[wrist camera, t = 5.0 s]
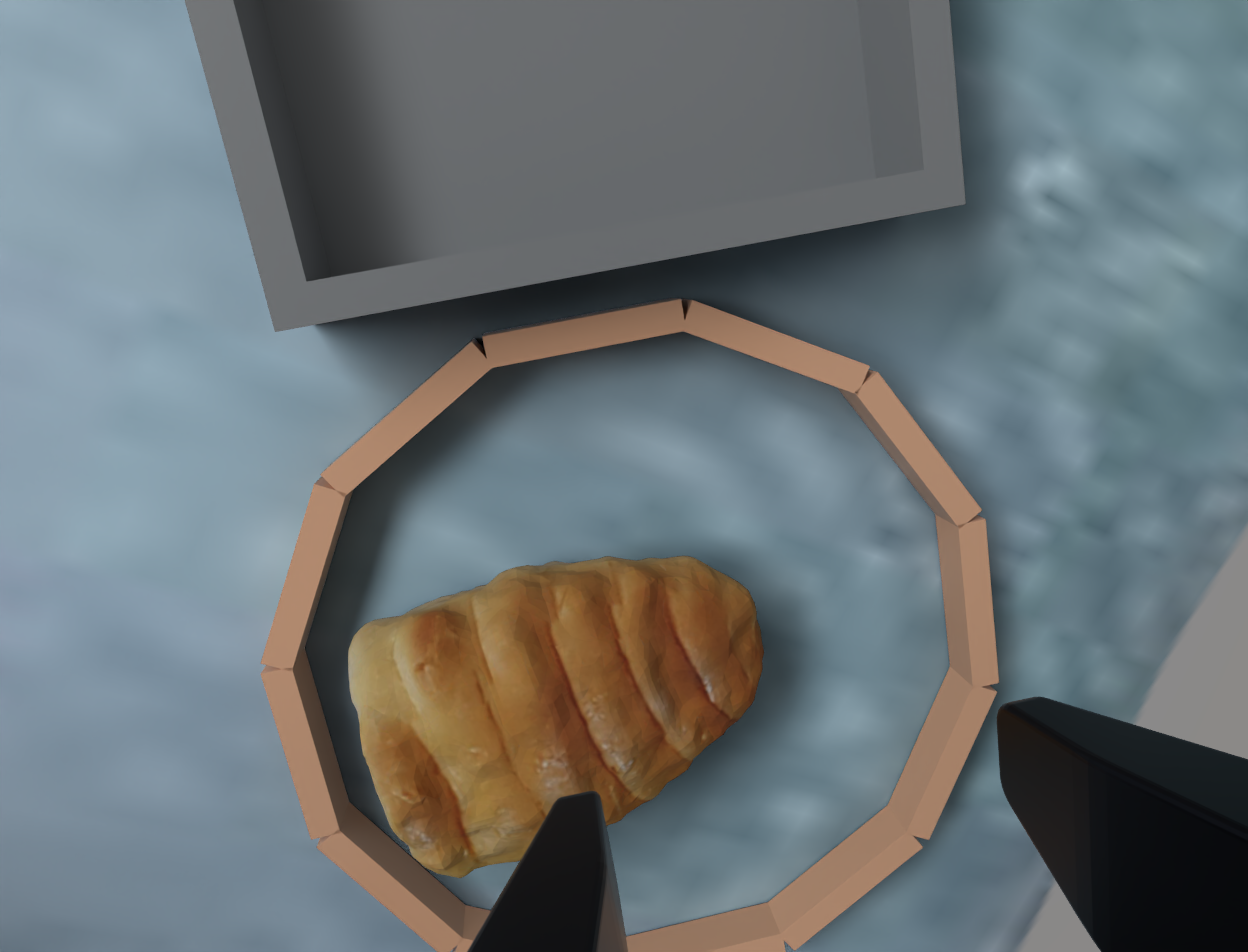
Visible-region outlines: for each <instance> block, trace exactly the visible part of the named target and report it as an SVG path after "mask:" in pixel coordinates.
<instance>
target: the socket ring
mask: <svg viewBox="0 0 1248 952" xmlns="http://www.w3.org/2000/svg"><path fill="white" fill-rule="evenodd" d="M682 331H683V332H686V333H689V334H691V335H694V336H697V337H700V338H702V339H705V340H708V341H711V342H713V343H716V344H719V345H722V346H724V347H727V348H730V349H733V350H735V351H738V352H741V353H744V354H746V355H749V356H752V357H755V358H757V359H760V360H763V361H766V362H768V363H771V364H774V365H777V366H779V367H782V368H785V369H787V370H790V371H793V372H796V373H798V374H801V375H804V376H807V377H809V378H812V379H815V380H818V381H820V382H823V383H826V384H829V385H831V386H834V387H837V388H838V389H839V390H840V392H841V393H842V394H843V396H844V397H845V398H846V399H847V401H848V402H849V403H850V405H851V406H852V407H853V409H854V410H855V411H856V412H857V414H858V415H859V416H860V418H861V419H862V420H863V421H864V423H865V424H866V425H867V427H868V428H869V429H870V431H871V432H872V433H873V434H874V436H875V437H876V438H877V440H878V441H879V442H880V443H881V445H882V446H883V447H884V449H885V450H886V451H887V453H888V454H889V455H890V456H891V458H892V459H893V460H894V462H895V463H896V464H897V465H898V467H899V468H900V469H901V471H902V472H903V473H904V474H905V476H906V477H907V478H908V480H909V481H910V482H911V484H912V485H913V486H914V487H915V489H916V490H917V491H918V493H919V494H920V495H921V496H922V498H923V499H924V500H925V502H926V503H927V504H928V506H929V507H930V508H931V509H932V511H933V512H934V513H935V516H936V526H937V537H938V547H939V557H940V568H941V578H942V588H943V599H944V609H945V619H946V630H947V640H948V650H949V661H950V667H949V670H948V672H947V674H946V676H945V679H944V681H943V683H942V685H941V687H940V690H939V692H938V694H937V696H936V699H935V701H934V703H933V705H932V708H931V710H930V712H929V714H928V716H927V719H926V721H925V723H924V725H923V728H922V730H921V732H920V734H919V736H918V739H917V741H916V743H915V745H914V748H913V750H912V752H911V754H910V757H909V759H908V761H907V763H906V765H905V768H904V770H903V772H902V774H901V777H900V779H899V781H898V783H897V785H896V788H895V790H894V792H893V794H892V797H891V799H890V801H889V803H888V805H887V806H886V807H885V808H884V809H882V810H881V811H880V812H879V813H877V814H876V815H875V816H874V817H872V818H871V819H870V820H869V821H868V822H866V823H865V824H864V825H863V826H861V827H860V828H859V829H858V830H856V831H855V832H854V833H853V834H851V835H850V836H849V837H848V838H847V839H845V840H844V841H843V842H842V843H840V844H839V845H838V846H837V847H835V848H834V849H833V850H832V851H831V852H829V853H828V854H827V855H826V856H824V857H823V858H822V859H821V860H819V861H818V862H817V863H816V864H814V865H813V866H812V867H811V868H810V869H808V870H807V871H806V872H805V873H803V874H802V875H801V876H800V877H798V878H797V879H796V880H795V881H794V882H792V883H791V884H790V885H789V886H787V887H786V888H785V889H784V890H782V891H781V892H780V893H779V894H777V895H776V896H775V897H774V898H773V899H771V900H770V901H769V902H767V903H763V904H759V905H755V906H751V907H746V908H742V909H738V910H734V911H730V912H726V913H722V914H718V915H713V916H709V917H705V918H701V919H697V920H693V921H689V922H685V923H680V924H676V925H672V926H668V927H664V928H660V929H656V930H652V931H647V932H643V933H639V934H635V935H631V936H627V937H626V941H627V947H628V952H785V945H784V941H785V942H786V943H787V944H788V945H789V946H790V947H791V948H792V949H793V950H794V951H795V950H796V949H797V948H799V947H800V946H801V945H802V944H804V943H805V942H806V941H807V940H809V939H810V938H811V937H812V936H814V935H815V934H816V933H817V932H819V931H820V930H821V929H822V928H824V927H825V926H826V925H827V924H828V923H830V922H831V921H832V920H833V919H835V918H836V917H837V916H838V915H840V914H841V913H842V912H843V911H845V910H846V909H847V908H848V907H850V906H851V905H852V904H853V903H855V902H856V901H857V900H858V899H860V898H861V897H862V896H863V895H865V894H866V893H867V892H868V891H869V890H871V889H872V888H873V887H874V886H876V885H877V884H878V883H879V882H881V881H882V880H883V879H884V878H886V877H887V876H888V875H889V874H891V873H892V872H893V871H894V870H896V869H897V868H898V867H899V866H901V865H902V864H903V863H904V862H905V861H907V860H908V859H909V858H910V857H912V856H913V855H914V854H915V853H917V852H918V851H919V850H920V849H922V848H923V846H922V845H921V844H920V842H919V841H918V839H917V838H916V837H919V838H923V839H927V840H929V839H930V837H931V834H932V832H933V830H934V828H935V826H936V824H937V821H938V819H939V817H940V815H941V813H942V811H943V808H944V806H945V804H946V802H947V800H948V798H949V795H950V793H951V791H952V789H953V787H954V785H955V782H956V780H957V778H958V776H959V774H960V772H961V769H962V767H963V765H964V763H965V761H966V759H967V756H968V754H969V752H970V750H971V748H972V746H973V743H974V741H975V739H976V737H977V735H978V733H979V730H980V728H981V726H982V724H983V722H984V720H985V717H986V715H987V713H988V711H989V709H990V707H991V704H992V702H993V700H994V698H995V696H996V694H997V691H996V690H994V689H993V688H992V687H991V686H990V685H991V684H996V683H999V676H998V664H997V652H996V640H995V628H994V616H993V603H992V591H991V579H990V567H989V555H988V543H987V531H986V519H984V518H982V517H980V516H978V515H977V514H978V513H979V512H981V511H982V509H981V508H980V507H979V505H978V504H977V503H976V501H975V500H974V499H973V497H972V496H971V495H970V493H969V492H968V491H967V489H966V488H965V487H964V485H963V484H962V483H961V482H960V480H959V479H958V478H957V476H956V475H955V474H954V472H953V471H952V470H951V468H950V467H949V466H948V464H947V463H946V462H945V460H944V459H943V458H942V456H941V455H940V454H939V452H938V451H937V450H936V448H935V447H934V446H933V444H932V443H931V442H930V440H929V439H928V438H927V436H926V435H925V434H924V432H923V431H922V430H921V428H920V427H919V426H918V424H917V423H916V422H915V421H914V419H913V418H912V417H911V415H910V414H909V413H908V411H907V410H906V409H905V407H904V406H903V405H902V403H901V402H900V401H899V399H898V398H897V397H896V395H895V394H894V393H893V391H892V390H891V389H890V387H889V386H888V385H887V383H886V382H885V381H884V379H883V378H882V377H881V375H880V374H879V373H878V372H876V371H872V370H868V369H869V367H870V366H869V365H866V364H863V363H860V362H858V361H855V360H852V359H850V358H847V357H844V356H842V355H839V354H836V353H834V352H831V351H828V350H826V349H823V348H820V347H817V346H815V345H812V344H809V343H807V342H804V341H801V340H799V339H796V338H793V337H791V336H788V335H785V334H783V333H780V332H777V331H774V330H772V329H769V328H766V327H764V326H761V325H758V324H756V323H753V322H750V321H748V320H745V319H742V318H740V317H737V316H734V315H732V314H729V313H726V312H723V311H721V310H718V309H715V308H713V307H710V306H707V305H705V304H702V303H699V302H697V301H694V300H689V299H682V301H681V299H678V298H668V299H662V300H657V301H652V302H646V303H641V304H636V305H631V306H625V307H620V308H615V309H609V310H604V311H599V312H593V313H588V314H583V315H577V316H572V317H567V318H562V319H556V320H551V321H546V322H540V323H535V324H530V325H524V326H519V327H514V328H508V329H503V330H498V331H493V332H487V333H484V334H483V336H482V338H483V343H484V347H485V349H484V348H483V347H482V346H481V345H480V344H479V343H478V342H477V340H476V339H475V338H474V339H473V340H471V341H470V342H469V343H468V344H467V345H466V346H465V347H463V348H462V349H461V350H460V351H459V352H458V353H457V354H455V355H454V356H453V357H452V358H451V359H450V360H449V361H447V362H446V363H445V364H444V365H443V366H442V367H441V368H440V369H438V370H437V371H436V372H435V373H434V374H433V375H432V376H430V377H429V378H428V379H427V380H426V381H425V382H424V383H422V384H421V385H420V386H419V387H418V388H417V389H416V390H414V391H413V392H412V393H411V394H410V395H409V396H408V397H407V398H405V399H404V400H403V401H402V402H401V403H400V404H399V405H397V406H396V407H395V408H394V409H393V410H392V411H391V412H389V413H388V414H387V415H386V416H385V417H384V418H383V419H381V420H380V421H379V422H378V423H377V424H376V425H375V426H374V427H372V428H371V429H370V430H369V431H368V432H367V433H366V434H364V435H363V436H362V437H361V438H360V439H359V440H358V441H356V442H355V443H354V444H353V445H352V446H351V447H350V448H348V449H347V450H346V451H345V452H344V453H343V454H342V455H341V456H339V457H338V458H337V459H336V460H335V461H334V462H333V463H331V464H330V465H329V466H328V467H327V468H326V469H325V470H324V471H323V472H322V473H321V474H320V475H321V476H322V477H321V478H320V479H319V480H318V481H317V482H316V483H315V484H314V487H313V490H312V493H311V497H310V500H309V503H308V507H307V510H306V513H305V517H304V520H303V523H302V527H301V530H300V533H299V537H298V540H297V543H296V547H295V550H294V553H293V557H292V560H291V564H290V567H289V570H288V574H287V577H286V580H285V584H284V587H283V590H282V594H281V597H280V600H279V604H278V607H277V610H276V614H275V617H274V620H273V624H272V627H271V630H270V634H269V637H268V640H267V644H266V647H265V651H264V654H263V657H262V661H261V664H265V665H266V666H265V668H264V669H263V671H262V672H261V677H262V680H263V683H264V687H265V690H266V693H267V696H268V700H269V703H270V706H271V710H272V713H273V716H274V719H275V723H276V726H277V729H278V732H279V736H280V739H281V742H282V746H283V749H284V752H285V755H286V759H287V762H288V765H289V769H290V772H291V775H292V778H293V782H294V785H295V788H296V792H297V795H298V798H299V801H300V805H301V808H302V811H303V814H304V818H305V821H306V824H307V828H308V831H309V834H310V837H311V840H312V839H316V838H320V840H319V842H318V845H317V848H318V849H319V850H320V851H321V852H322V853H323V854H325V855H326V856H327V857H328V858H329V859H330V860H332V861H333V862H334V863H335V864H336V865H337V866H338V867H340V868H341V869H342V870H343V871H344V872H345V873H347V874H348V875H349V876H350V877H351V878H352V879H354V880H355V881H356V882H357V883H358V884H359V885H361V886H362V887H363V888H364V889H365V890H366V891H368V892H369V893H370V894H371V895H372V896H373V897H375V898H376V899H377V900H378V901H379V902H380V903H381V904H383V905H384V906H385V907H386V908H387V909H388V910H390V911H391V912H392V913H393V914H394V915H395V916H397V917H398V918H399V919H400V920H401V921H402V922H404V923H405V924H406V925H407V926H408V927H409V928H411V929H412V930H413V931H414V932H415V933H416V934H418V935H419V936H420V937H421V938H422V939H423V940H424V941H426V942H427V943H428V944H429V945H430V946H431V947H433V948H434V949H435V950H436V951H437V952H450V951H451V950H452V949H453V952H467V951H468V949H469V947H470V946H471V944H472V942H473V941H474V939H475V937H476V935H477V934H478V932H479V930H480V929H481V927H482V925H483V923H484V922H485V920H486V918H487V917H488V915H489V913H490V910H485V909H481V908H476V907H472V906H467V905H465V904H464V903H462V902H461V901H460V900H459V899H458V898H457V897H456V896H455V895H453V894H452V893H451V892H450V891H449V890H448V889H447V888H446V887H444V886H443V885H442V884H441V883H440V882H439V881H438V880H437V879H436V878H434V877H433V876H432V875H431V874H430V873H429V872H428V871H427V870H425V869H424V868H423V867H422V866H421V865H420V864H419V863H418V862H416V861H415V860H414V859H413V858H412V857H411V856H410V855H409V854H407V853H406V852H405V851H404V850H403V849H402V848H401V847H400V846H398V845H397V844H396V843H395V842H394V841H393V840H392V839H391V838H389V837H388V836H387V835H386V834H385V833H384V832H383V831H382V830H380V829H379V828H378V827H377V826H376V825H375V824H374V823H373V822H371V821H370V820H369V819H368V818H367V817H366V816H365V815H364V814H362V813H361V812H360V811H359V810H358V809H357V808H356V807H355V806H353V805H352V804H351V803H350V802H349V799H348V796H347V792H346V789H345V786H344V782H343V779H342V775H341V772H340V768H339V765H338V761H337V758H336V754H335V751H334V748H333V744H332V741H331V737H330V734H329V730H328V727H327V723H326V720H325V716H324V713H323V709H322V706H321V703H320V699H319V696H318V692H317V689H316V685H315V682H314V678H313V675H312V671H311V668H310V665H309V661H308V658H307V654H306V651H305V645H306V642H307V639H308V636H309V632H310V629H311V626H312V623H313V619H314V616H315V613H316V610H317V606H318V603H319V600H320V597H321V593H322V590H323V587H324V584H325V580H326V577H327V574H328V571H329V567H330V564H331V561H332V558H333V554H334V551H335V548H336V545H337V541H338V538H339V535H340V532H341V528H342V525H343V522H344V518H345V515H346V512H347V509H348V505H349V502H350V499H351V496H352V492H353V489H354V488H355V487H356V486H357V485H359V484H360V483H361V482H362V481H363V480H364V479H365V478H367V477H368V476H369V475H370V474H371V473H372V472H373V471H375V470H376V469H377V468H378V467H379V466H380V465H381V464H383V463H384V462H385V461H386V460H387V459H388V458H389V457H391V456H392V455H393V454H394V453H395V452H396V451H397V450H399V449H400V448H401V447H402V446H403V445H404V444H405V443H407V442H408V441H409V440H410V439H411V438H412V437H413V436H415V435H416V434H417V433H418V432H419V431H420V430H421V429H423V428H424V427H425V426H426V425H427V424H428V423H429V422H431V421H432V420H433V419H434V418H435V417H436V416H437V415H439V414H440V413H441V412H442V411H443V410H444V409H445V408H447V407H448V406H449V405H450V404H451V403H452V402H453V401H455V400H456V399H457V398H458V397H459V396H460V395H461V394H463V393H464V392H465V391H466V390H467V389H468V388H469V387H471V386H472V385H473V384H474V383H475V382H476V381H477V380H479V379H480V378H481V377H482V376H483V375H484V374H485V373H487V372H488V371H489V370H490V369H491V368H494V367H500V366H505V365H510V364H515V363H521V362H526V361H531V360H536V359H541V358H547V357H552V356H557V355H562V354H568V353H573V352H578V351H583V350H588V349H594V348H599V347H604V346H609V345H615V344H620V343H625V342H630V341H635V340H641V339H646V338H651V337H656V336H662V335H667V334H672V333H677V332H682ZM915 836H916V837H915Z"/></svg>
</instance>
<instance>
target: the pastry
mask: <svg viewBox="0 0 1248 952" xmlns="http://www.w3.org/2000/svg"><path fill="white" fill-rule="evenodd" d="M756 615H757V611H756V607H755V604H754V601H753V599H752V597H751V595H750V593H749V591H748V590H747V589H746V588H745V587H744V586H743V585H742V584H740V583H739V582H737V581H736V580H734V579H732V578H730V577H728V576H726V575H724V574H723V573H721V572H719V571H717V570H715V569H713V568H711V567H710V566H708V565H706V564H705V563H703V562H701V561H699V560H697V559H695V558H693V557H689V556H677V557H671V558H664V559H659V558H646V559H642V560H636V561H635V560H627V559H621V558H616V557H610V556H607V557H602V558H599V559H594V560H588V561H582V562H577V563H563V562H558V561H553V562H549V563H546V564H544V565H542V566H530V565H526V566H520V567H515V568H512V569H509V570H506V571H504V572H502V573H500V574H498V575H497V576H496V577H495V578H494V579H493V580H492V581H491V582H490V583H489V584H487V585H482V586H478V587H476V588H474V589H472V590H469V591H461V592H459V593H457V594H454V595H448V596H443V597H440V598H438V599H436V600H433V601H430V602H427V603H425V604H424V605H421V606H418V607H416V608H414V609H412V610H410V611H409V612H407V613H406V614H404V615H402V616H396V617H389V618H382V619H377V620H373V621H371V622H369V623H367V624H365V625H364V626H363V627H362V628H361V629H360V630H359V631H358V632H357V633H356V634H355V635H354V637H353V639H352V642H351V645H350V647H349V653H348V671H349V682H350V685H349V687H350V694H351V699H352V702H353V704H354V706H355V708H356V710H357V712H358V719H359V723H360V739H361V745H362V751H363V756H364V757H365V758H366V762H367V765H368V766H369V769H370V773H371V776H372V780H373V783H374V786H375V789H376V792H377V794H378V797H379V799H380V801H381V804H382V806H383V809H384V811H385V814H386V817H387V820H388V822H389V825H390V827H391V828H392V830H393V832H394V833H395V834H396V835H397V836H398V837H399V838H400V839H401V840H402V841H403V842H405V843H406V844H407V845H408V846H409V848H410V852H411V854H412V856H413V857H414V858H415V859H416V860H417V861H418V862H420V863H421V864H422V865H423V866H424V867H426V868H427V869H429V870H432V871H434V872H435V873H437V874H442V875H448V876H452V877H457V878H462V877H464V876H466V875H467V874H469V873H470V872H471V871H473V870H474V869H476V868H480V867H483V866H487V865H492V864H498V863H505V862H517V861H520V860H521V858H522V857H523V855H524V853H525V852H526V850H527V848H528V846H529V845H530V843H531V841H532V840H533V838H534V836H535V835H536V833H537V831H538V829H539V828H540V826H541V824H542V823H543V821H544V819H545V817H546V816H547V814H548V812H549V811H550V809H551V807H552V805H553V804H554V802H555V801H556V800H557V799H558V798H560V797H563V796H568V795H573V794H578V793H583V792H587V791H596V792H597V793H598V794H599V795H600V798H601V802H602V807H603V812H604V817H605V822H606V826H607V825H610V824H613V823H616V822H618V821H620V820H621V819H622V818H623V817H624V816H625V815H626V814H627V813H629V812H630V811H632V810H633V809H635V808H636V807H638V806H639V805H641V804H643V803H645V802H647V801H649V800H652V799H653V798H654V797H656V796H657V795H658V794H659V793H660V791H661V790H662V789H663V788H664V786H665V785H666V784H667V783H668V782H669V781H671V780H673V779H675V778H676V777H678V776H679V775H681V774H682V773H683V772H685V771H686V770H688V768H689V766H690V765H691V763H692V761H693V759H694V758H695V757H696V756H697V755H699V754H700V753H701V752H702V751H703V750H704V749H705V748H706V747H707V746H708V745H710V744H711V743H712V742H714V741H715V740H716V739H717V738H719V737H720V736H722V735H723V734H724V733H725V731H726V729H727V728H729V727H730V726H731V725H732V724H734V723H735V722H737V721H738V720H739V719H740V718H741V717H742V715H743V714H744V712H745V711H746V710H747V709H748V707H750V706H751V705H752V703H753V701H754V698H755V694H756V690H757V686H758V682H759V679H760V676H761V672H762V658H763V654H764V649H763V645H762V639H761V630H760V627H759V624H758V621H757V619H756Z"/></svg>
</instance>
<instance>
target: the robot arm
mask: <svg viewBox="0 0 1248 952" xmlns="http://www.w3.org/2000/svg"><path fill="white" fill-rule="evenodd" d="M997 734H998V750H999V767H1000V779H1001V784H1002V788H1003V791H1004V794H1005V796H1006V798H1007V800H1008V802H1009V804H1010V806H1011V807H1012V809H1013V811H1014V812H1015V814H1016V816H1017V817H1018V819H1019V821H1020V822H1021V824H1022V825H1023V827H1024V829H1025V830H1026V832H1027V834H1028V835H1029V837H1030V839H1031V840H1032V842H1033V844H1034V845H1035V847H1036V849H1037V850H1038V852H1039V853H1040V855H1041V857H1042V858H1043V860H1044V862H1045V863H1046V865H1047V867H1048V868H1049V870H1050V872H1051V873H1052V875H1053V877H1054V878H1055V880H1056V881H1057V883H1058V885H1059V886H1060V888H1061V890H1062V891H1063V893H1064V895H1065V896H1066V898H1067V900H1068V901H1069V903H1070V904H1071V906H1072V908H1073V910H1074V911H1075V913H1076V914H1077V916H1078V918H1079V919H1080V921H1081V922H1082V924H1083V925H1084V927H1085V928H1086V930H1087V932H1088V933H1089V935H1090V936H1091V938H1092V939H1093V941H1094V942H1095V944H1096V945H1097V947H1098V948H1099V949H1100V951H1101V952H1248V759H1245V758H1241V757H1238V756H1235V755H1231V754H1228V753H1225V752H1222V751H1218V750H1215V749H1212V748H1208V747H1205V746H1202V745H1199V744H1195V743H1192V742H1189V741H1185V740H1182V739H1179V738H1176V737H1172V736H1169V735H1166V734H1162V733H1159V732H1156V731H1152V730H1149V729H1146V728H1143V727H1140V726H1136V725H1133V724H1130V723H1127V722H1123V721H1120V720H1117V719H1113V718H1110V717H1107V716H1104V715H1100V714H1097V713H1094V712H1090V711H1087V710H1084V709H1081V708H1077V707H1074V706H1071V705H1067V704H1064V703H1061V702H1058V701H1054V700H1051V699H1048V698H1044V697H1032V698H1027V699H1023V700H1018V701H1013V702H1009V703H1005V704H1003V705H1002V706H1001V707H1000V709H999V710H998V714H997ZM467 952H628V947H627V941H626V934H625V928H624V922H623V916H622V910H621V904H620V898H619V892H618V886H617V880H616V874H615V869H614V863H613V858H612V853H611V848H610V843H609V838H608V832H607V827H606V822H605V817H604V812H603V807H602V802H601V798H600V795H599V794H598V793H597V792H596V791H587V792H583V793H578V794H573V795H568V796H563V797H560V798H558V799H557V800H556V801H555V802H554V804H553V805H552V807H551V809H550V811H549V812H548V814H547V816H546V817H545V819H544V821H543V823H542V824H541V826H540V828H539V829H538V831H537V833H536V835H535V836H534V838H533V840H532V841H531V843H530V845H529V846H528V848H527V850H526V852H525V853H524V855H523V857H522V858H521V860H520V862H519V864H518V865H517V867H516V869H515V870H514V872H513V874H512V876H511V877H510V879H509V881H508V882H507V884H506V886H505V888H504V889H503V891H502V893H501V894H500V896H499V898H498V900H497V901H496V903H495V905H494V906H493V908H492V910H491V911H490V913H489V915H488V917H487V918H486V920H485V922H484V923H483V925H482V927H481V929H480V930H479V932H478V934H477V935H476V937H475V939H474V941H473V942H472V944H471V946H470V947H469V949H468V951H467Z"/></svg>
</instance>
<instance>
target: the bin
mask: <svg viewBox="0 0 1248 952" xmlns="http://www.w3.org/2000/svg"><path fill="white" fill-rule="evenodd" d="M185 3H186V7H187V10H188V14H189V18H190V21H191V25H192V29H193V32H194V36H195V40H196V43H197V47H198V51H199V54H200V58H201V62H202V65H203V69H204V73H205V76H206V80H207V84H208V87H209V91H210V95H211V98H212V102H213V106H214V109H215V113H216V117H217V120H218V124H219V128H220V131H221V135H222V139H223V142H224V146H225V150H226V153H227V157H228V161H229V164H230V168H231V172H232V175H233V179H234V183H235V186H236V190H237V194H238V197H239V201H240V205H241V208H242V212H243V216H244V219H245V223H246V227H247V230H248V234H249V238H250V241H251V245H252V249H253V252H254V256H255V260H256V264H257V267H258V271H259V275H260V278H261V282H262V286H263V289H264V293H265V297H266V300H267V304H268V308H269V311H270V315H271V319H272V322H273V326H274V330H275V332H277V331H283V330H288V329H294V328H299V327H305V326H310V325H315V324H321V323H326V322H332V321H337V320H342V319H348V318H353V317H359V316H364V315H369V314H375V313H380V312H386V311H391V310H396V309H402V308H407V307H413V306H418V305H423V304H429V303H434V302H440V301H445V300H450V299H456V298H461V297H467V296H472V295H477V294H483V293H488V292H494V291H499V290H504V289H510V288H515V287H521V286H526V285H531V284H537V283H542V282H548V281H553V280H559V279H564V278H569V277H575V276H580V275H586V274H591V273H596V272H602V271H607V270H613V269H618V268H623V267H629V266H634V265H640V264H645V263H650V262H656V261H661V260H667V259H672V258H677V257H683V256H688V255H694V254H699V253H704V252H710V251H715V250H721V249H726V248H731V247H737V246H742V245H748V244H753V243H758V242H764V241H769V240H775V239H780V238H786V237H791V236H796V235H802V234H807V233H813V232H818V231H823V230H829V229H834V228H840V227H845V226H850V225H856V224H861V223H867V222H872V221H877V220H883V219H888V218H894V217H899V216H904V215H910V214H915V213H921V212H926V211H931V210H937V209H942V208H948V207H953V206H958V205H964V204H966V203H965V190H964V178H963V165H962V153H961V141H960V128H959V116H958V103H957V91H956V79H955V66H954V54H953V42H952V29H951V17H950V4H949V0H185Z"/></svg>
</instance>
